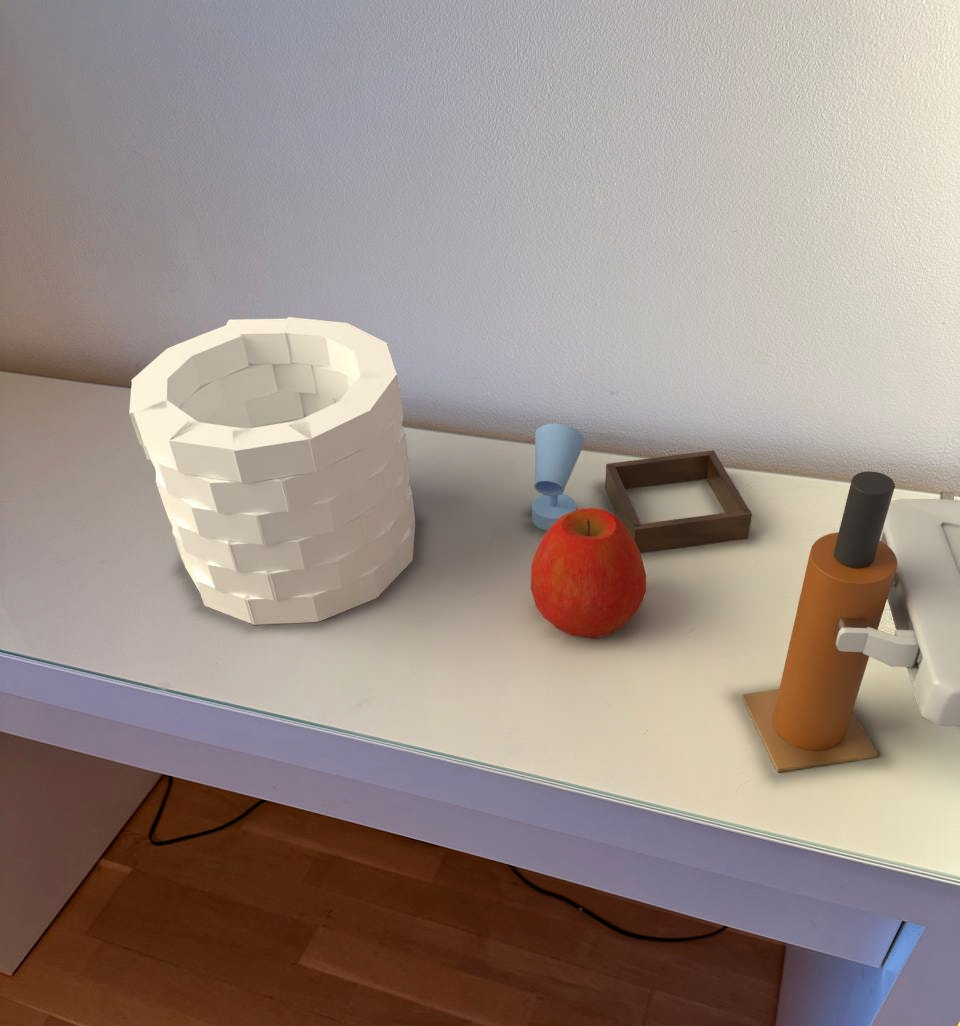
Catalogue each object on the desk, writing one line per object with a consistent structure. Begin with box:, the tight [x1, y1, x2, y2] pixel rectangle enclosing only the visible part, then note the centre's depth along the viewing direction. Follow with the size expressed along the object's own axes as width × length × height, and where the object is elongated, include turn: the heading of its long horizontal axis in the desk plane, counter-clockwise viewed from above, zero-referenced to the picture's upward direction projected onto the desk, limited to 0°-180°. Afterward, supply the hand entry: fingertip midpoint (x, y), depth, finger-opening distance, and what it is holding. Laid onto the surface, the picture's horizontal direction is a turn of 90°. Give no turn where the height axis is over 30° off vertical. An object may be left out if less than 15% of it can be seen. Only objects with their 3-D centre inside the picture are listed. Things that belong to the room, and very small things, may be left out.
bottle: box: [773, 470, 897, 750], centre depth 69 cm, size 6×6×23 cm
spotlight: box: [531, 423, 585, 532], centre depth 96 cm, size 5×10×7 cm
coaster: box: [741, 688, 879, 773], centre depth 77 cm, size 8×8×1 cm
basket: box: [128, 316, 416, 626], centre depth 91 cm, size 25×24×19 cm
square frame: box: [604, 449, 753, 554], centre depth 97 cm, size 12×12×3 cm
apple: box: [530, 507, 647, 639], centre depth 85 cm, size 10×10×10 cm
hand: (828, 600), depth 68 cm, fingers closed on bottle, 6 cm apart
